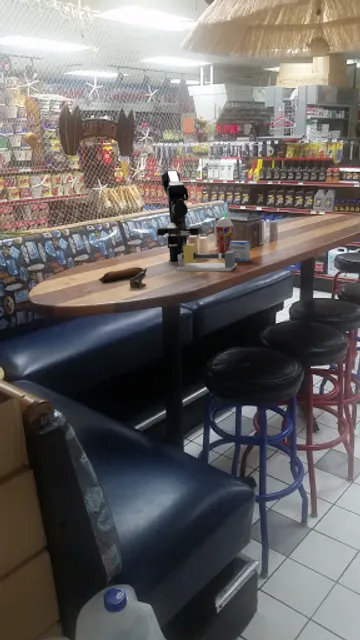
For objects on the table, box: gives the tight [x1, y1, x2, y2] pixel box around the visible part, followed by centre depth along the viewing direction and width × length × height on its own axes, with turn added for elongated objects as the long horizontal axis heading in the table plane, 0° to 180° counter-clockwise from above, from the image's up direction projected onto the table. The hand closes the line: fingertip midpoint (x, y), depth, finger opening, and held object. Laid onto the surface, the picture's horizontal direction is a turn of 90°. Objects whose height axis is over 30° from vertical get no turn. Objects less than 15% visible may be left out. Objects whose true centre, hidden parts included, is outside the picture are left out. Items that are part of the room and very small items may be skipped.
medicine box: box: [230, 240, 251, 262], centre depth 230 cm, size 8×4×9 cm, turn 62°
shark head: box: [129, 268, 148, 288], centre depth 196 cm, size 8×6×7 cm
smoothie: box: [215, 211, 234, 254], centre depth 246 cm, size 8×8×20 cm
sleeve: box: [183, 243, 198, 263], centre depth 221 cm, size 4×5×8 cm
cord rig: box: [174, 251, 238, 272], centre depth 220 cm, size 24×12×7 cm, turn 70°
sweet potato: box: [98, 266, 144, 284], centre depth 212 cm, size 18×7×7 cm, turn 120°
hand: (180, 251), depth 222 cm, fingers closed
